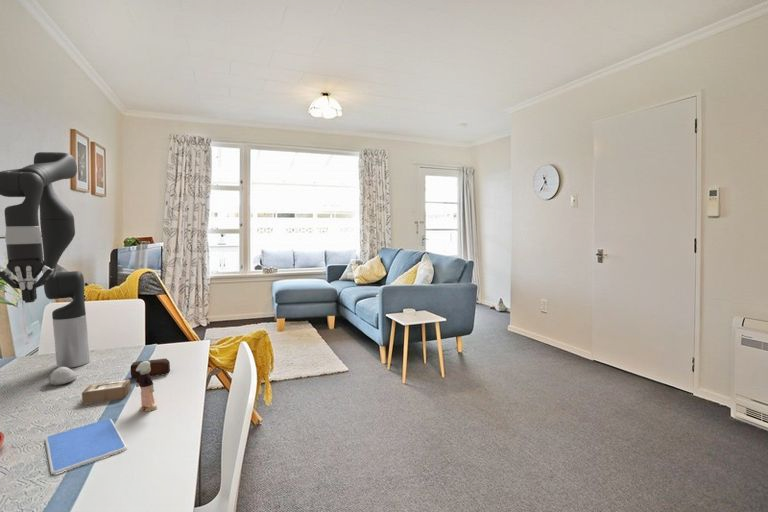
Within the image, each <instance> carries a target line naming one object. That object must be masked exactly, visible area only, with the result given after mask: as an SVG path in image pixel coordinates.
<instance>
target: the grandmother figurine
mask: <svg viewBox="0 0 768 512" xmlns="http://www.w3.org/2000/svg"><path fill="white" fill-rule="evenodd" d="M142 361H143V362H141V363H140V364H139V365H138V367H137V369H136V371H137V372H138V371H139V372H140V374H141V375H140V376H138V378H136V379H135V387H136V388H138V387H140V396H141V397H140V398H141V400H140V402H141V403H140V405H141V406H140V407H139V410H140V411H144V412H145V413H147V411H148V412H152V411H155V410H157V409H158V407H157V405H155V402H156V401H155V396H154V392H155V389H154V387H155V386H154V382H153V379H152V377H153V376H150V375H149V374H148V373H149V372H150V371H151V368H150V362H149V361H148V360H142ZM156 408H157V409H156ZM144 409H145V410H144ZM154 409H155V410H154ZM151 410H152V411H151Z"/></svg>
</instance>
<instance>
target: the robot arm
mask: <svg viewBox="0 0 768 512" xmlns="http://www.w3.org/2000/svg"><path fill="white" fill-rule="evenodd" d="M77 172H78V165H77V161H76V159H75V158H74V156H73V155H71V154H69V153H67V152H62V151H61V152H59V151H58V152H57V151H55V152H51V151H43V152H42V151H40V152H36V153H35V155H34V157H33V163H32V164H29V165H26V166H24V167H22V168H16V169H15V168H14V169H7V170H1V171H0V196H1V197H2V196H3V197H7V198H24V199H23V200H22V202H21V203H19V204H14V205H8V206H6V207H5V208H4V221H5V245H6V246H5V247H6V254H7V264H6V268H4V269H3V270H1V271H0V279H2V280H3V281H4V282H6V284H8V285H9V287H11V288H13V289H17V290H18V289H19V290H20V291H21V300H22V301H23V302H24V303H25V304H27V303H28V304H29V303H34V302H35V301H36V300H37V299H38V297H37V289H38V288H40V287H43V289H44V290H43V291H44V294H45V295H44V296H45V297H46V298H47V299H48V300H59V299H70V298H73V300H71V302H69V303H68V304H66V305H64V306H61V307H58V308H56V309H54V310H53V311H52V314H51V316H52V326H53V328H52V329H53V337H54V340H53V341H54V347H55V360H56V361H55V362H56V368H57V367H58V368H59V367H67V368H70V369H71V368H76V367H80V366H83V365H87V364H88V363H90V360H91V359H90V348H89V347H90V346H89V337H88V336H89V335H88V325H87V314H86V305H85V303H86V301H85V278H84V275H83V273H82V272H81V271H79V270H75V271H74V270H73V271H71V270H70V271H60V272H58V271H57V272H56V270H57V265H58V262H59V260H60V258H61V257H62V255H63V254H64V252H65V251H66V249H67V248H68V247H69V245H70V244H71V242H72V241H73V239H74V237H75V235H76V227H75V218H74V215H73V213H72V211H71V210H70V209H69V207H68V206H67V205H66V204H65V203H64V202H63V200H61V199H60V198H59V196H58V195H57V193H56V192H55V190H54V188H53V184H52V183H54V182H58V181H61V180H68V179H69V180H70V179H74V177H75V176H76V175H77ZM39 221H40V222H39ZM40 273H42V275H41V277H40V278H39V279H38V276H39V275H40ZM13 275H14V276H13ZM15 277H16V278H15Z"/></svg>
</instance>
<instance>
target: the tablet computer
mask: <svg viewBox="0 0 768 512" xmlns="http://www.w3.org/2000/svg"><path fill="white" fill-rule="evenodd" d="M44 442H45V446H46V452H47V453H46V454H47V460H48V465H49V470H50V474H51V475H52V474H56V473H59V472H62V471H64V470H69V469H72V468H74V467H76V466H80V465H83V464H85V463H88V462H92V461H95V462H97V461H96V460H98V459H101V458H104V457H106V458H108V457H107V456H109V457H111V456H110V455H112V456H114V455H113V454H115V453H118V452H120V451H123V450H125V449H126V448H128V446H127V445H126V443H125V441H124V438H123V437H122V435H121V433H120V431H119V430H118V428H117V426H116V424H115V423H114V421H113V419H111V418H106V419H102V420H99V421H95V422H92V423H88V424H85V425H82V426H78V427H75V428H71V429H68V430H65V431H61V432H57V433H54V434H51V435H48V436H47V437H46V438H45V440H44ZM126 450H127V449H126ZM126 450H125V451H126ZM123 452H124V451H123ZM120 453H121V452H120ZM118 454H119V453H118ZM115 455H116V454H115ZM104 459H105V458H104ZM101 460H102V459H101ZM98 461H99V460H98ZM92 463H93V462H92ZM72 470H73V469H72ZM69 471H70V470H69Z"/></svg>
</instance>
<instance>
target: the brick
mask: <svg viewBox="0 0 768 512" xmlns="http://www.w3.org/2000/svg"><path fill="white" fill-rule="evenodd" d="M143 361H144V360H140V361H139V360H138V361H133V362H132V363H131V365H130V376H131V377H130V378H131V380H136V379H137V378H138V376H140V375H141V374H140V372H139V371H138V372H137V371H136V369H137V367H138V365H139V364H140V363H141V362H143ZM147 361H149V362H150V368H151V371H150V372H149V373H148V374H149V375H150V376H151V377H157V376H156V375H158V376H162V375H161V374H165V375H167V374H166V373H168V374H169V372H170V371H171V364H170V360H169V359H167V358H158V359H150V360H147Z"/></svg>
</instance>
